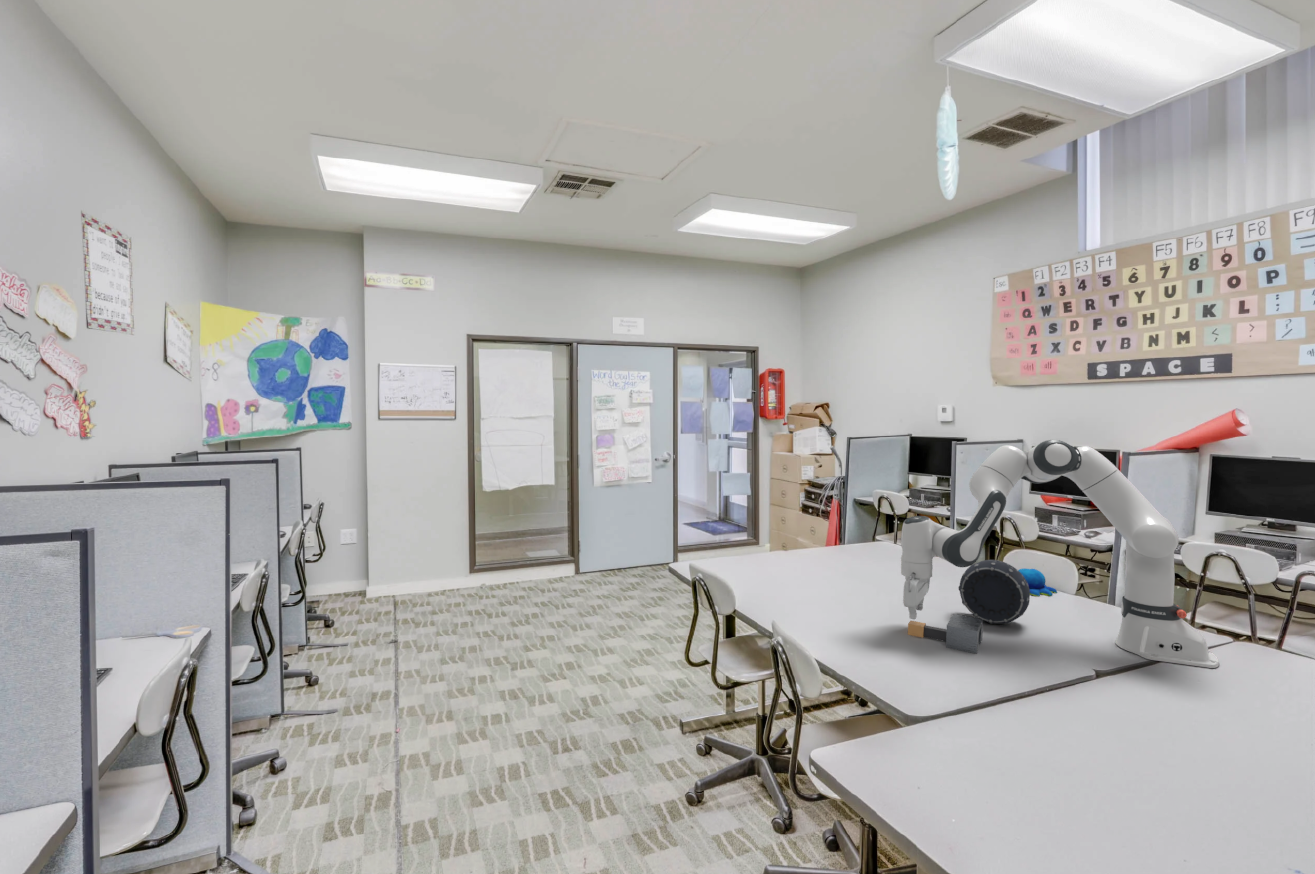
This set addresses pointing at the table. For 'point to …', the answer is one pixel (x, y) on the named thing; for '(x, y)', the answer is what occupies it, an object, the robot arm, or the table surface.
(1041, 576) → the plush toy
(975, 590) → the dotted bowl
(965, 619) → the slotted block
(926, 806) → the table surface
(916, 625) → the plug
